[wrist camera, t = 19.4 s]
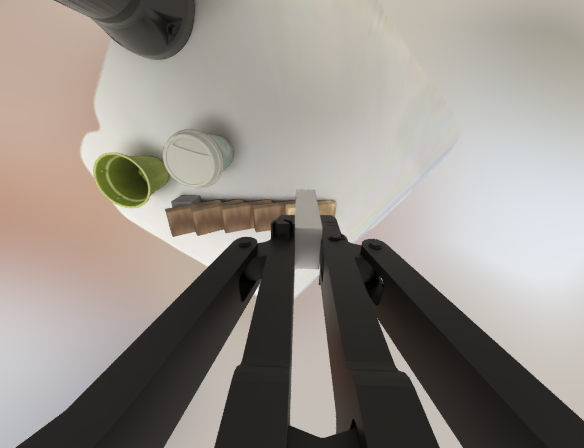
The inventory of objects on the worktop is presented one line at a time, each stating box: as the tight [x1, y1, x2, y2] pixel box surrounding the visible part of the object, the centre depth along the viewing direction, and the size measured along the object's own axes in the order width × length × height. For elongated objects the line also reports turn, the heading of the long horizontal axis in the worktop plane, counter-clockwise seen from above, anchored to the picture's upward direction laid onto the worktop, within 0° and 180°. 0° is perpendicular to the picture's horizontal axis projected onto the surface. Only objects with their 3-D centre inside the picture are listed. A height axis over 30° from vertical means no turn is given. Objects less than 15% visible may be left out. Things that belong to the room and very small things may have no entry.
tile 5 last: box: [165, 200, 222, 237], centre depth 42 cm, size 5×2×10 cm
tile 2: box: [252, 200, 296, 232], centre depth 43 cm, size 5×2×10 cm
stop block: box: [171, 195, 201, 208], centre depth 44 cm, size 6×4×4 cm, turn 0°
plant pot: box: [93, 153, 169, 208], centre depth 39 cm, size 9×9×9 cm
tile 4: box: [191, 199, 244, 236], centre depth 43 cm, size 5×2×10 cm
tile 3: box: [221, 199, 273, 233], centre depth 43 cm, size 5×2×10 cm
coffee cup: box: [163, 129, 233, 188], centre depth 35 cm, size 8×8×12 cm
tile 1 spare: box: [286, 200, 336, 217], centre depth 43 cm, size 5×2×10 cm
